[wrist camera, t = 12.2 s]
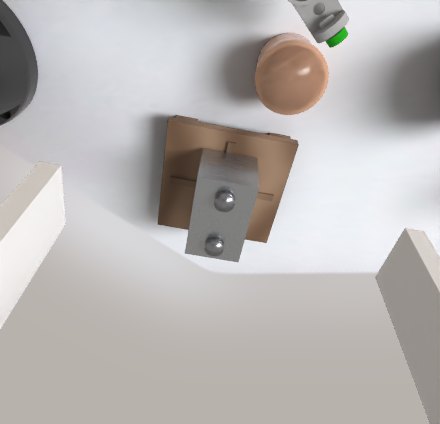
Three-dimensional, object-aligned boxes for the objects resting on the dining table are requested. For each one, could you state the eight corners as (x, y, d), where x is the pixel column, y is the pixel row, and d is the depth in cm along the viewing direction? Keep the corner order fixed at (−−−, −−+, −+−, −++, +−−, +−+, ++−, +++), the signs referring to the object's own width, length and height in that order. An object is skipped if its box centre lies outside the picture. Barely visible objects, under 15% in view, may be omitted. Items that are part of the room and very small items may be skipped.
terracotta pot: (247, 90, 41) (248, 108, 37) (262, 23, 37) (264, 34, 33) (308, 101, 41) (315, 120, 37) (329, 36, 37) (339, 49, 33)
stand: (161, 210, 51) (157, 225, 48) (172, 110, 42) (167, 121, 40) (265, 228, 51) (266, 244, 49) (295, 133, 43) (298, 146, 40)
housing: (203, 148, 41) (196, 181, 36) (257, 158, 42) (259, 192, 36) (191, 220, 47) (183, 258, 42) (239, 228, 47) (238, 267, 42)
